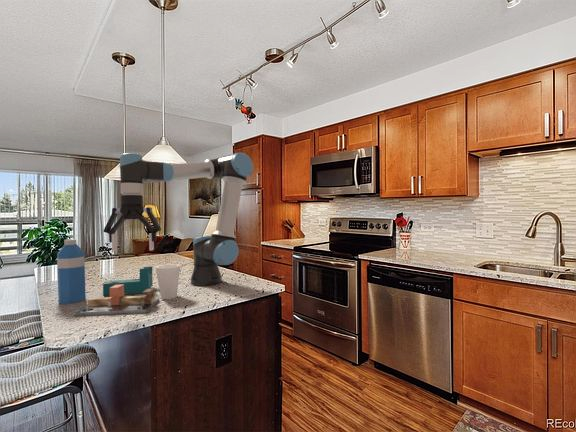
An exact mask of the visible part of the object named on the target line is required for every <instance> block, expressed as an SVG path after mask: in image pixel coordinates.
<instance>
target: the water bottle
mask: <svg viewBox="0 0 576 432" xmlns="http://www.w3.org/2000/svg"><path fill="white" fill-rule="evenodd" d="M63 241H64V244H63V246H62V247H61V248H60V250H59V251H58V252H57V254H56V263H57V292H58V293H57V295H58V299H57V301H58V303H59V304H64V305H65V304H73V303H79V302H82V301H84V300H86V299H87V298H86V294H87V293H86V271H85V269H86V267H85V266H86V265H85V263H86V262H85V251H84V250H83V249H82V248H81V247H80V246H79V245H78V243H77V239H75V238H71V239H64V240H63Z"/></svg>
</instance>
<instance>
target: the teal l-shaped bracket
mask: <svg viewBox="0 0 576 432" xmlns="http://www.w3.org/2000/svg"><path fill="white" fill-rule="evenodd" d="M153 278H154V277H153V266H144V267H143V268H139V278H133V279H120V280H109V281H107V282H104V283H103V284H102V296H104V297H109V296H110V287H112V286H114V285H121V284H124V295H130V294H131V295H132V294H143V292H144V291H145V290H146V289H152V287H153V285H154V284H153V281H154V279H153Z"/></svg>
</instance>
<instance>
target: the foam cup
mask: <svg viewBox="0 0 576 432" xmlns="http://www.w3.org/2000/svg"><path fill="white" fill-rule="evenodd" d="M180 271H181V265H180V264H177V263H169V264H161V265H157V266H156V267H155V273H156V277H157V283H158V289H159V295H160V299H161V298H162V300H171V298H172V299H176V298H177V297H178V291H179V290H178V288H179V280H180V279H179V278H180Z"/></svg>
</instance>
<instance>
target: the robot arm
mask: <svg viewBox="0 0 576 432" xmlns="http://www.w3.org/2000/svg"><path fill="white" fill-rule="evenodd" d="M253 172H254V163H253V161H252V160H251V158H250V156H249V155H248V154H246V153H244V152H234V153H233V154H229V155H222V156H220V157H216V158H213V159H205V160H204V161H202V162H201V161H200V162H197V161H196V162H184V163H183V162H182V163H167V162H164V161H162V162H161V161H160V162H159V161H152V160H151V161H148V160H144V159H143V156H142V155H141V154H139V153H133V152H132V153H130V152H127V153H122V154H121V155H120V157H119V175H120V178H119V179H120V194H121V196H120V208H118V207H112V209H111V214H110V216H109V218H108V220H107V222H106V225H105V226H104V229H103V230H102V231H103V233H106V234H108V237H109V238H108V241H109V243H111V252H118V233H116V232H117V231H118V230H119V229H120V227H121V226H122V225H123V224H124V222H125V221H127V220H139V221H140V222H141V223H142V224H143V225H144V227H145V228H146V229H147V230H148V231H149V232H150V233H148V237H149V238H148V241H149V242H148V243H149V245H148V246H149V247H148V248H149V249H148V250H149V251H154V250H155V242H156V241H157V233H158V232H161V231H162V228H161V226H160V224H159V223H158V221H157V219H156V217H155V215H154V212H153V208H152V207H151V206H149V207H144V197H143V188H144V186H143V185H146V184H150V183H151V184H153V183H161V182H162V183H163V182H173V181H181V180H190V179H191V180H192V179H203V178H206V179H208V180H213V179H215V180H216V179H217V180H218V179H219V180H223V182H224V184H223V189H222V194H221V201H220V204H219V205H220V206H219V211H218V216H217V220H216V221H217V222H216V228H215V230H214V231H213V232H212V233H211V234H210V235H206V236H205V235H204V236H197V237H195V238H193V243H192V246H193V270H192V274H191V277H190V284H191V285H192V286H198V287H200V286H212V285H217V284H220V283H222V281H223V279H222V274H221V271H220V267H219V265H220V266H229V265H231V264H233V262H235V261H236V260H237V258H238V256H239V250H240V249H239V246H238V243H237V241H236V240H237V237H236V235H235V229H236V223H237V218H238V212H239V206H240V200H241V194H242V188H243V186H244V185H245V184H246V183H247V180H248V177H249V176H250V175H251V174H252V173H253ZM120 213H121V215H120V217H119V218H118V220H116V219H117V217H118V215H119V214H120ZM144 213H146V214H147V216H148V218H149V221H150V222H151V223H150V222H149V221H148V219H146V217H145V216H144ZM115 221H116V222H115Z"/></svg>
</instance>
